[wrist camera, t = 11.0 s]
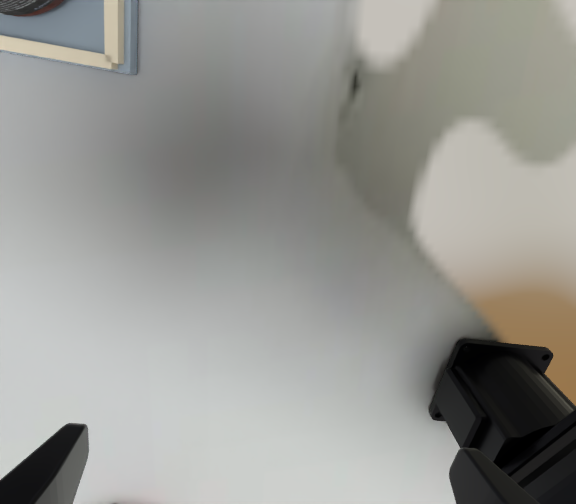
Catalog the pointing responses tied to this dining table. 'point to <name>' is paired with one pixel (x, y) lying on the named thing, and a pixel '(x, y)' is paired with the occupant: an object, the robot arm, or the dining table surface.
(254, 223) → the dining table surface
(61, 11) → the board
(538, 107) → the dining table surface
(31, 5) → the supplement bottle
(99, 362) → the dining table surface
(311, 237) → the dining table surface
